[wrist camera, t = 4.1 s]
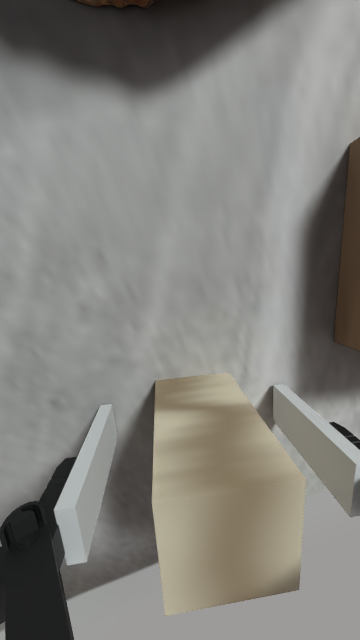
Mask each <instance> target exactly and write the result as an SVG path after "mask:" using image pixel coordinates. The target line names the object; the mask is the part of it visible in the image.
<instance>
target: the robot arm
mask: <svg viewBox="0 0 360 640" xmlns="http://www.w3.org/2000/svg"><path fill="white" fill-rule="evenodd" d="M273 420H274V422H275V423H276V424H277V425H278V427H279V428H280V429H281V431H282V432H283V433H284V434H285V436H286V437H287V438H288V439H289V441H290V442H291V443H292V444H293V446H294V447H295V448H296V449H297V451H298V452H299V453H300V455H301V456H302V457H303V458H304V460H305V461H306V462H307V463H308V465H309V466H310V467H311V468H312V470H313V471H314V472H315V473H316V475H317V476H318V477H319V479H320V480H321V481H322V482H323V484H324V485H325V486H326V487H327V489H328V490H329V491H330V492H331V494H332V495H333V496H334V498H335V499H336V500H337V501H338V502H339V504H340V505H341V506H342V507H343V509H344V510H345V511H346V513H347V514H348V515H349V516H350V517H354V516H360V440H359V439H358V438H357V437H355V436H354V435H353V434H352V433H351V432H349V431H348V430H347V429H346V428H344V427H342V426H341V425H339V424H337V423H335V422H331V423H328V422H327V421H326V420H325V419H323V418H322V417H321V416H320V415H319V414H318V413H317V412H315V411H314V410H313V409H312V408H311V407H310V406H309V405H307V404H306V403H305V402H304V401H303V400H302V399H300V398H299V397H298V396H297V395H296V394H295V393H294V392H292V391H291V390H290V389H289V388H288V387H287V386H285V385H284V384H280V385H274V386H273ZM116 444H117V433H116V426H115V419H114V413H113V406H112V404H108V405H100V408H99V410H98V412H97V414H96V417H95V419H94V421H93V423H92V425H91V428H90V430H89V432H88V434H87V437H86V439H85V441H84V443H83V446H82V448H81V450H80V452H79V455H78V457H73V458H66V459H65V460H64V461H63V462H62V463H61V464H60V465H59V466H58V467H57V468H56V470H55V472H54V474H53V476H52V479H51V480H50V482H49V484H48V485H47V488H46V489H45V491H44V493H43V495H42V497H41V499H40V501H39V502H38V501H34V502H28V503H26V504H24V505H22V506H20V507H19V508H17V509H16V510H14V511H13V512H12V513H11V514H10V515H9V516H8V517H7V518H6V519H5V521H4V523H3V524H2V526H1V528H0V540H1V543H2V546H1V547H0V624H1V623H3V622H5V634H6V640H74V637H73V632H72V627H71V622H70V617H69V612H68V607H67V603H66V598H65V593H64V588H63V583H62V578H61V574H60V567H61V564H62V561H63V558H64V555H65V560H66V564H67V566H68V565H74V564H80V563H85V562H87V560H88V556H89V552H90V548H91V544H92V540H93V536H94V532H95V528H96V524H97V520H98V516H99V512H100V508H101V504H102V500H103V496H104V492H105V488H106V484H107V480H108V476H109V472H110V468H111V464H112V460H113V456H114V452H115V448H116Z"/></svg>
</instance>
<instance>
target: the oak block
mask: <svg viewBox="0 0 360 640" xmlns="http://www.w3.org/2000/svg"><path fill="white" fill-rule="evenodd" d="M305 486H306V479H305V477H304V476H303V475H302V473H301V472H300V471H299V469H298V468H297V466H296V465H295V464H294V462H293V461H292V459H291V458H290V457H289V455H288V454H287V453H286V451H285V450H284V448H283V447H282V446H281V444H280V443H279V441H278V440H277V439H276V437H275V436H274V435H273V433H272V432H271V430H270V429H269V428H268V426H267V425H266V423H265V422H264V421H263V419H262V418H261V417H260V415H259V414H258V412H257V411H256V410H255V408H254V407H253V405H252V404H251V403H250V401H249V400H248V398H247V397H246V396H245V394H244V393H243V392H242V390H241V389H240V387H239V386H238V385H237V383H236V382H235V380H234V379H233V378H232V376H231V375H230V374H229V373H220V374H211V375H202V376H193V377H184V378H175V379H166V380H156V381H155V414H154V447H153V481H152V508H153V517H154V525H155V534H156V542H157V551H158V559H159V567H160V576H161V584H162V591H163V592H162V593H163V600H164V608H165V616H168V615H173V614H178V613H184V612H188V611H194V610H198V609H204V608H209V607H214V606H219V605H225V604H230V603H235V602H240V601H245V600H250V599H255V598H260V597H265V596H270V595H276V594H281V593H285V592H291V591H296V590H299V583H300V582H299V581H300V567H301V551H302V535H303V534H302V533H303V519H304V502H305Z"/></svg>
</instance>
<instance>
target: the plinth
mask: <svg viewBox="0 0 360 640" xmlns="http://www.w3.org/2000/svg"><path fill="white" fill-rule="evenodd" d="M334 342H337V343H339V344H342V345H345V346H347V347H350V348H353V349H355V350H358V351H360V137H359V138H358V139H356V140H355V141H353V142H352V143H350V149H349V161H348V173H347V186H346V198H345V210H344V222H343V235H342V247H341V259H340V271H339V284H338V296H337V308H336V320H335V332H334Z"/></svg>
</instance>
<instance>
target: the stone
mask: <svg viewBox="0 0 360 640" xmlns="http://www.w3.org/2000/svg"><path fill="white" fill-rule="evenodd" d="M77 1H79V2H81V3H84V4H87V5H92V6H101V5H114V6H116V7H117V8H122V7H124V6H126V5H128V4H137V5H139V6H141V7H143V8H145V9H147V8H148V7H149V6H150V5H152V3H153V1H154V0H77Z"/></svg>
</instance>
